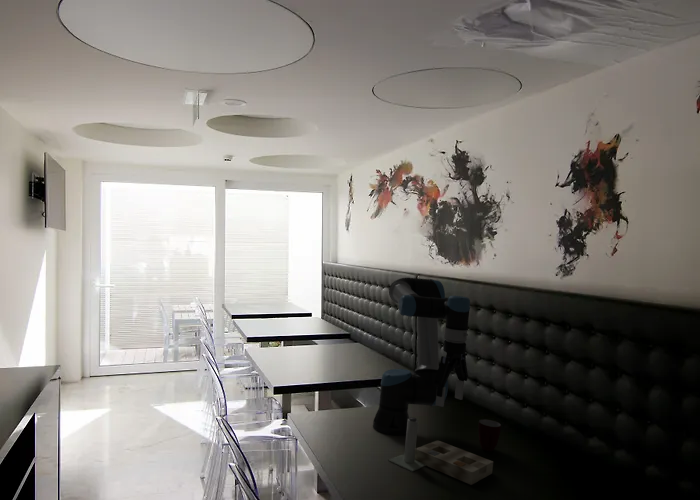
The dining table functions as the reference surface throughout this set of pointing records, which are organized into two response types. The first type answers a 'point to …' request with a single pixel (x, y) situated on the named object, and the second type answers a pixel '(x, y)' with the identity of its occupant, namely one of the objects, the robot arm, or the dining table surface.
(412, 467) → the pad
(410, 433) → the plug
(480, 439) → the mug
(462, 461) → the socket block
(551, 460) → the dining table surface
